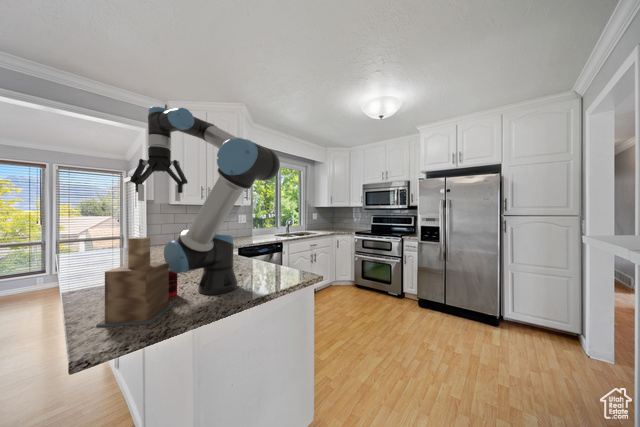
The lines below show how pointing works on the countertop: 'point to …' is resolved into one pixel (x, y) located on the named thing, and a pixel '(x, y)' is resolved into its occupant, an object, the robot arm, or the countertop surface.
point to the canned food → (172, 284)
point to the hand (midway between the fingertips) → (159, 201)
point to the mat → (103, 324)
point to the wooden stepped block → (136, 286)
